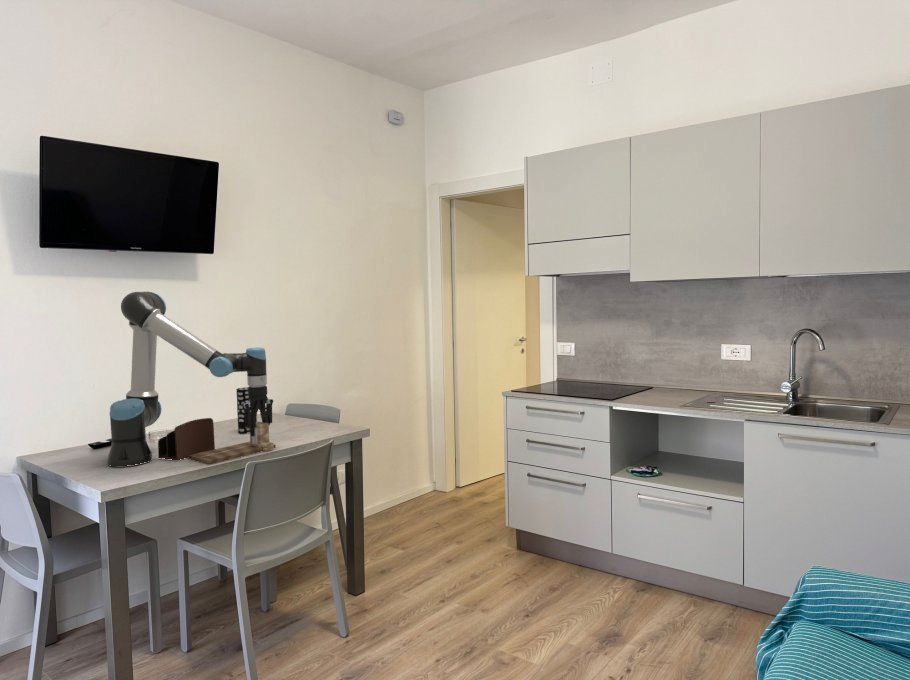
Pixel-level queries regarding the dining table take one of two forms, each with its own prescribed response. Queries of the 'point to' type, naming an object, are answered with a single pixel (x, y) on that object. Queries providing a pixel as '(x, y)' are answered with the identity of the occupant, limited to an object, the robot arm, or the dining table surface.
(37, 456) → the dining table surface
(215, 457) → the board
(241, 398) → the white-spotted black cylinder
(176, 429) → the letter holder
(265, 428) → the gauge
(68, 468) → the dining table surface
